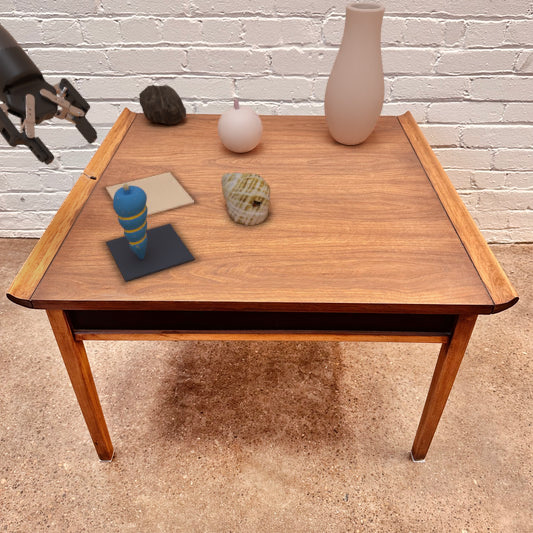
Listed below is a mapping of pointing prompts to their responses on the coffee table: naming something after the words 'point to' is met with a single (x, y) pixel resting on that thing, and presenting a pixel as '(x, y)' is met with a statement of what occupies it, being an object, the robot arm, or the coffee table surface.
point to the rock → (162, 104)
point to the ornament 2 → (240, 128)
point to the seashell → (246, 197)
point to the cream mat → (159, 192)
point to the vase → (356, 76)
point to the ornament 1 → (132, 216)
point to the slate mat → (150, 253)
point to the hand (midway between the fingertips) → (73, 150)
